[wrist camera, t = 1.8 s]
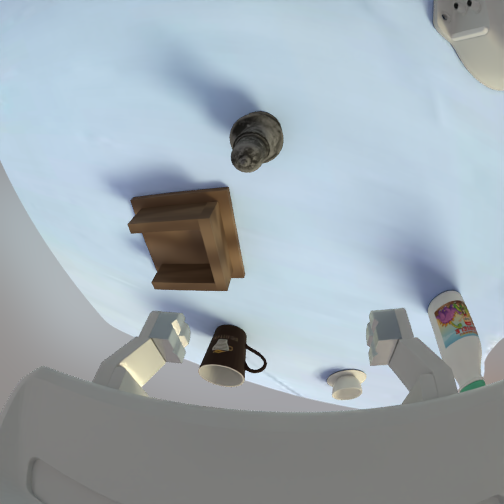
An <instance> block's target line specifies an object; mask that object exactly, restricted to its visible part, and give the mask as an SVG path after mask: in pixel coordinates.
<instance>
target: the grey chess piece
mask: <svg viewBox="0 0 504 504" xmlns="http://www.w3.org/2000/svg"><path fill="white" fill-rule="evenodd" d="M230 144H231V147H232V149H233V150H232V152H231V161H232V164H233V165H234V167H235V168H236V169H238V170H239V171H241V172H253V171H255V170H257V169H258V168H259V167H260V166H261V165H262V164H263V163H266V162H269V161H271V160H273V159H274V158H275V157H276V156H277V155H278V154H279V152H280V151H281V149H282V146H283V133H282V128H281V125H280V123H279V122H278V120H277V119H276V118H275V117H274V116H273V115H271V114H269V113H267V112H262V111H258V112H252V113H250V114H248V115H245V116H243V117H241V118H240V119H238V120H237V121H236V123H235V124H234V125H233V127H232V129H231V132H230Z"/></svg>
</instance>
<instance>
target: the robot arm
mask: <svg viewBox="0 0 504 504" xmlns="http://www.w3.org/2000/svg"><path fill="white" fill-rule="evenodd" d="M442 15H443V16H444V17H445V20H444V19H443V18H442ZM433 24H434V27H435V29H436V30H437V31H438V32H439V33H440V34H441V35H442V36H443V37H444V38H445V39H446V40H447V41H448V42H450V43H451V45H452V46H453V48H454V49H455V51H456V53H457V54H458V56H459V58H460V60H461V61H462V63H463V64H464V66H465V67H466V68H467V70H468V71H469V72H470V73H471V74H472V75H473V77H474V78H476V79H477V80H478V81H479V82H480V83H482V84H483V85H485V86H486V87H488V88H491V89H493V90H498V91H504V0H434V11H433ZM369 319H370V322H369V323H368V324H367V329H366V340H367V345H368V346H369V347H370V349H369V353H368V354H369V360H370V366H375V365H389V367H390V368H391V369H392V370H393V372H394V373H395V374H396V375H397V376H398V378H399V379H400V380H401V381H402V383H403V384H404V385H405V386H406V388H407V389H408V390H409V394H408V395H407V397H406V398H405V400H404V401H403V403H402V405H395V406H388V407H380V408H371V409H361V410H350V411H349V410H348V411H331V412H265V411H248V410H234V409H224V408H215V407H206V406H199V405H192V404H185V403H179V402H173V401H167V400H162V399H157V398H152V397H148V395H147V393H146V392H145V391H144V390H143V389H142V386H143V385H144V384H145V383H146V382H147V381H148V380H149V379H150V378H151V377H152V376H153V375H154V374H155V373H156V372H157V371H158V370H159V369H160V368H161V367H162V366H163V365H164V364H165V363H166V362H173V363H182V362H183V359H184V356H185V353H186V351H185V349H184V347H186V346H187V345H188V344H189V341H190V334H191V333H190V328H189V325H188V324H187V323H185V322H184V320H185V317H184V315H183V313H175V312H161V311H152V312H151V313H150V314H149V316H148V318H147V320H146V322H145V325H144V327H143V329H142V331H141V333H140V335H139V337H135V338H134V339H132V340H131V341H130V342H128V343H127V344H126V345H124V346H123V347H122V348H120V349H119V350H117V351H116V352H115V353H114V354H112V355H111V356H109V357H108V358H107V359H105V360H104V361H103V362H102V363H101V365H100V367H99V369H98V371H97V373H96V375H95V377H94V379H93V381H92V382H89V381H85V380H83V379H79V378H77V377H74V376H71V375H68V374H64V373H62V372H59V371H56V370H54V369H51V368H49V367H45V366H42V367H39V368H37V369H36V370H34V371H32V372H31V373H29V374H28V375H26V376H25V377H24V378H22V379H21V380H20V381H19V382H18V384H17V385H16V387H15V388H14V390H13V391H12V393H11V395H10V396H9V398H8V400H7V402H6V404H5V405H4V407H3V409H2V411H1V413H0V504H504V380H501V381H498V382H495V383H492V384H489V385H486V386H482V387H479V388H475V389H472V390H468V391H465V392H461V393H458V391H457V387H456V383H455V379H454V375H453V372H452V369H451V368H450V367H449V366H448V365H447V364H446V363H445V362H444V361H443V360H442V359H441V358H440V357H438V356H437V355H436V354H435V353H434V352H433V351H432V350H431V349H430V348H428V347H427V346H426V345H425V344H424V343H423V342H422V341H421V340H420V339H418V338H417V337H415V338H414V335H413V332H412V329H411V325H410V322H409V319H408V316H407V313H406V310H405V309H404V308H399V309H386V310H374V311H371V312H370V315H369Z"/></svg>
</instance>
